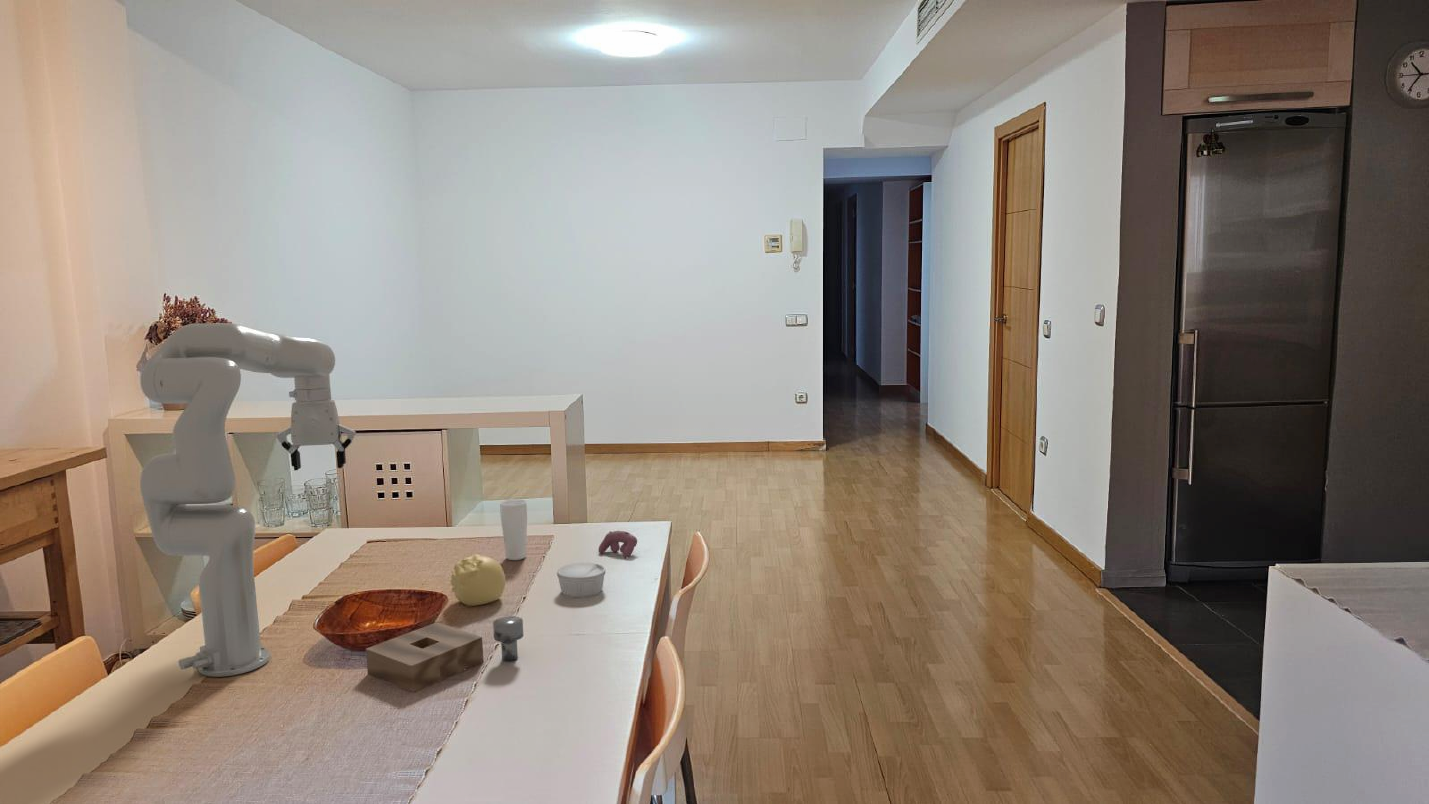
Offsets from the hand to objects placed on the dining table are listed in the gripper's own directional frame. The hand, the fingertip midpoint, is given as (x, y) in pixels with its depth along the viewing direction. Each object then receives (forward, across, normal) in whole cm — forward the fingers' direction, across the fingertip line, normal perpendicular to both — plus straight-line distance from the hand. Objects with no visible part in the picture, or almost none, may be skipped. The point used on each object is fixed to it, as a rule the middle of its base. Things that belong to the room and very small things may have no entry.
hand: (319, 468), depth 221 cm
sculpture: (+30, +36, -14) cm, 49 cm away
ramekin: (+30, +60, -12) cm, 68 cm away
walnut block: (+30, +30, -50) cm, 65 cm away
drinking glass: (+30, +43, +18) cm, 55 cm away
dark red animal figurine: (+30, +69, +16) cm, 77 cm away
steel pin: (+30, +45, -48) cm, 73 cm away
